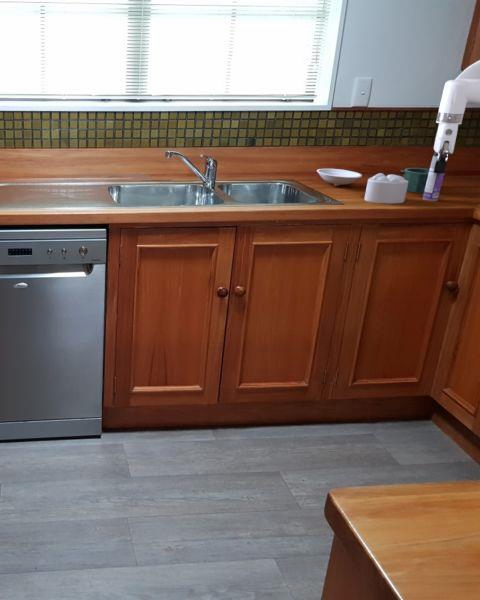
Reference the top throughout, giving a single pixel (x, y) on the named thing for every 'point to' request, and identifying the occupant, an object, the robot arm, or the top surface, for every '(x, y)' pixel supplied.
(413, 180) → the pot
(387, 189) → the lumpy-topped squat cylinder
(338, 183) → the dish
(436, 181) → the container
